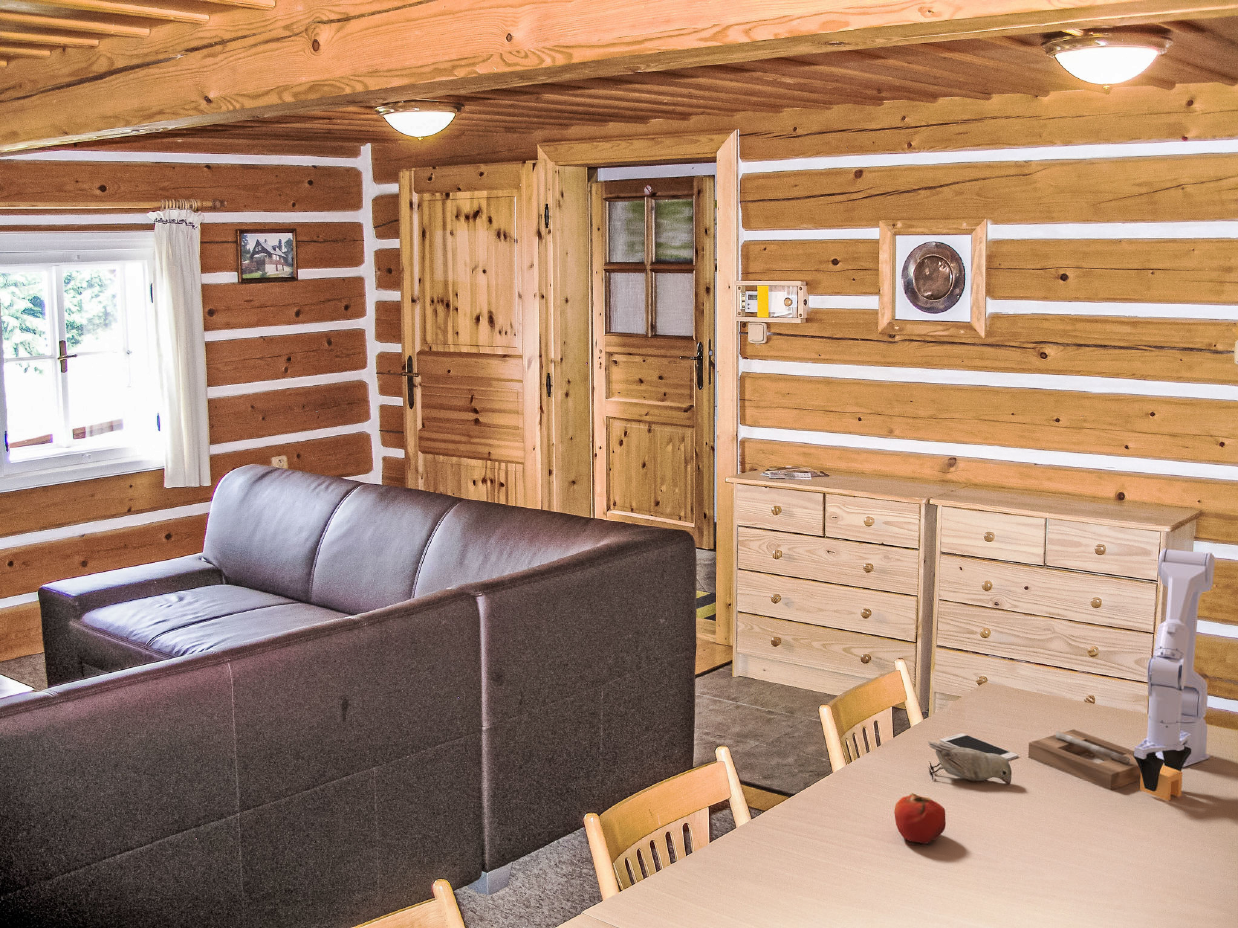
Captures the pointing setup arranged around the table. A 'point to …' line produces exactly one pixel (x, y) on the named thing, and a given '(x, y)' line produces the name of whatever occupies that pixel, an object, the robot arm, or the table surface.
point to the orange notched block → (1166, 783)
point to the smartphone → (977, 745)
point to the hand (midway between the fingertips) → (1160, 785)
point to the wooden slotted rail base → (1065, 757)
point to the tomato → (919, 818)
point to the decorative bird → (970, 763)
